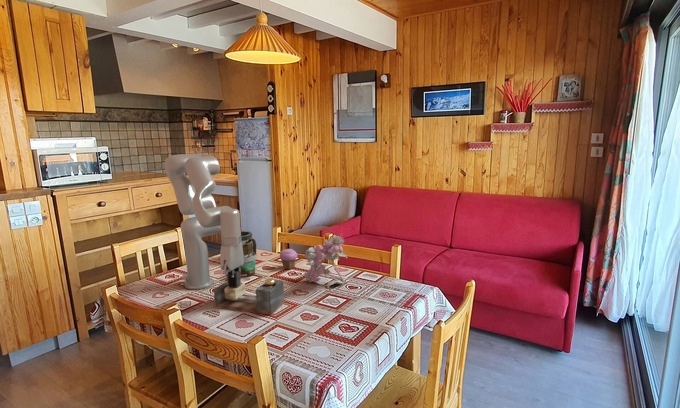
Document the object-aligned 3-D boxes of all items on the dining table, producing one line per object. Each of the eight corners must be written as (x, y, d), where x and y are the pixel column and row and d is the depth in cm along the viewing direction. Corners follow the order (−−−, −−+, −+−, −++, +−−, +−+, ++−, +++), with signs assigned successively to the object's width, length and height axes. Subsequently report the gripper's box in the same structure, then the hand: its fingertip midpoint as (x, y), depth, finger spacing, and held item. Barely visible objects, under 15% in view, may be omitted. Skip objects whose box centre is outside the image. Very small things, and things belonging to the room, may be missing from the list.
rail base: (215, 307, 153) (213, 284, 151) (231, 296, 163) (229, 274, 161) (271, 314, 145) (270, 291, 143) (284, 302, 155) (283, 280, 154)
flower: (339, 267, 191) (317, 226, 184) (366, 276, 172) (342, 230, 165) (309, 293, 183) (283, 250, 175) (333, 305, 164) (306, 258, 156)
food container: (251, 279, 182) (249, 259, 180) (239, 278, 183) (237, 258, 182) (261, 270, 194) (260, 251, 192) (250, 270, 195) (248, 251, 194)
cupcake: (291, 271, 192) (290, 252, 190) (277, 269, 195) (276, 250, 194) (300, 266, 199) (299, 247, 198) (286, 264, 203) (285, 245, 201)
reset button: (264, 295, 149) (263, 281, 148) (268, 291, 152) (267, 278, 151) (272, 296, 148) (271, 282, 147) (276, 292, 151) (276, 279, 150)
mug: (223, 261, 210) (221, 235, 207) (243, 255, 220) (241, 230, 218) (246, 268, 198) (244, 240, 195) (266, 261, 208) (264, 234, 206)
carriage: (225, 298, 153) (223, 274, 151) (235, 291, 159) (233, 268, 158) (235, 299, 151) (234, 275, 150) (245, 292, 158) (244, 269, 156)
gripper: (234, 234, 160) (237, 276, 163) (210, 245, 145) (214, 291, 148) (250, 235, 158) (253, 278, 161) (227, 246, 143) (231, 293, 146)
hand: (234, 284), depth 155 cm, fingers closed on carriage, 2 cm apart
